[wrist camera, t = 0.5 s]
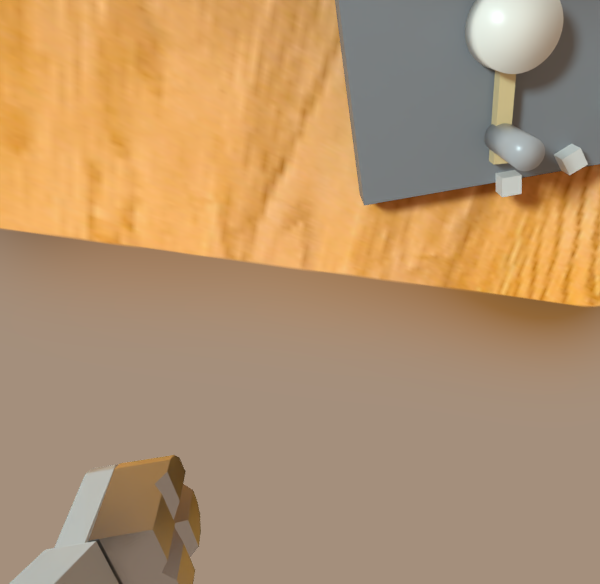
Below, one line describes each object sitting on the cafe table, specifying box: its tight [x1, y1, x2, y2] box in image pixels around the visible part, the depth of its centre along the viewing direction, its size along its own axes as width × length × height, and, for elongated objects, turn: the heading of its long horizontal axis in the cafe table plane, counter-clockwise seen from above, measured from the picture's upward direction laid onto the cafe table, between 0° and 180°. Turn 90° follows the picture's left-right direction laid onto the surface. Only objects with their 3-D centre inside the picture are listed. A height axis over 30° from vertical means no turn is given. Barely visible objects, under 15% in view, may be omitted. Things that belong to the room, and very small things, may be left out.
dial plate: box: [335, 0, 600, 205], centre depth 43 cm, size 25×24×5 cm
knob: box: [465, 0, 564, 171], centre depth 41 cm, size 13×6×6 cm, turn 5°
